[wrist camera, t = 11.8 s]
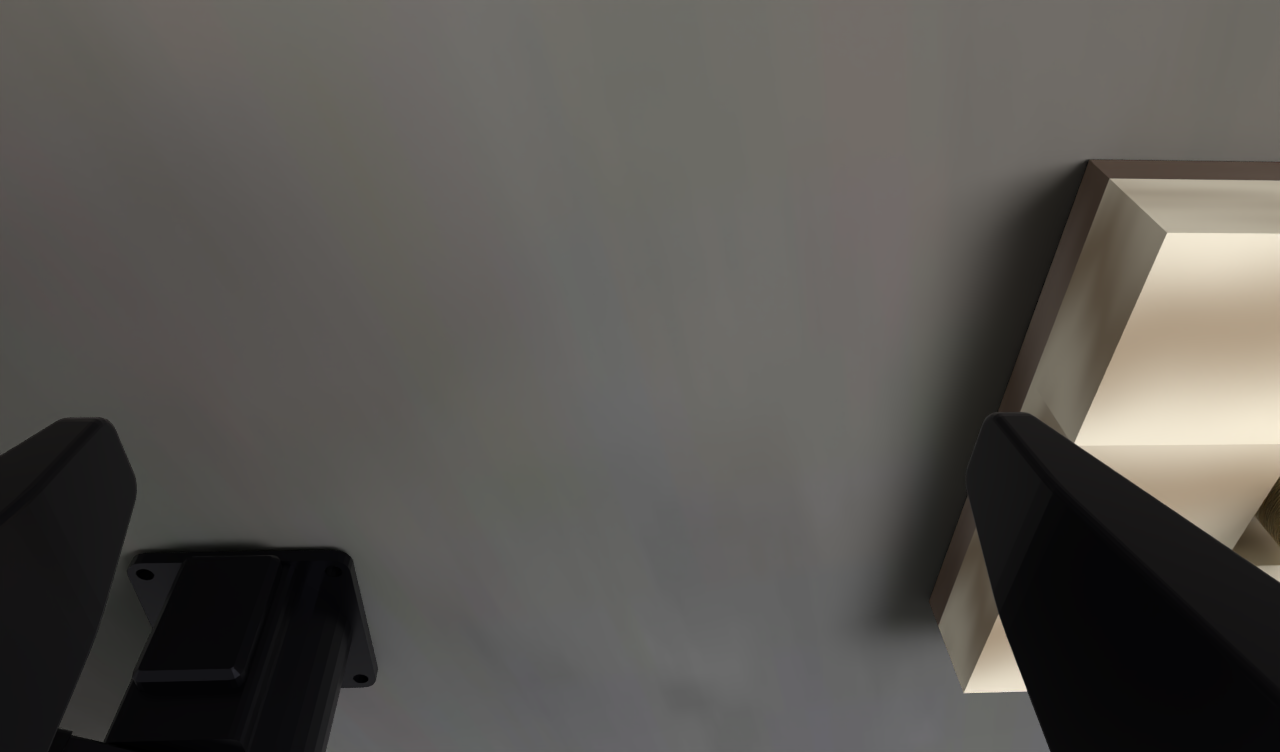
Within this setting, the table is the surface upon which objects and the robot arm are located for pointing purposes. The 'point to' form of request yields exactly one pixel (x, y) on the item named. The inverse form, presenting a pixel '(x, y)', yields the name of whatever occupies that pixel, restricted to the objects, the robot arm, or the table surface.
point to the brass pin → (1271, 513)
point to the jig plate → (1147, 367)
